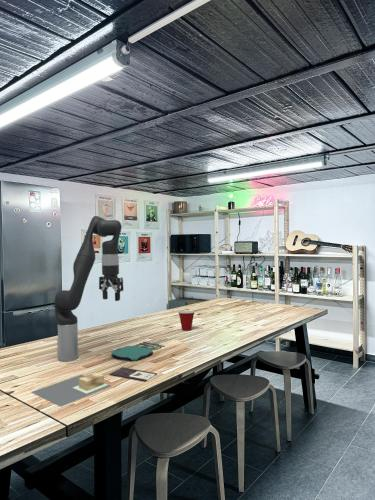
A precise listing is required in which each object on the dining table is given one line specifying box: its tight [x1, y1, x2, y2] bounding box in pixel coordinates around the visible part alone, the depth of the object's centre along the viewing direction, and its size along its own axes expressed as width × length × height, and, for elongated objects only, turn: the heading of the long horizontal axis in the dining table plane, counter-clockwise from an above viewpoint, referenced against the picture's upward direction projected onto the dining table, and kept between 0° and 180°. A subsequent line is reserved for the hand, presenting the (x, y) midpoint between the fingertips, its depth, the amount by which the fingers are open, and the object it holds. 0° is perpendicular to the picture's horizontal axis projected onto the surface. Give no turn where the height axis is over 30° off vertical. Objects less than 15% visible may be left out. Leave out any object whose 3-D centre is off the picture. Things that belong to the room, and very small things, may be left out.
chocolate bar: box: [109, 367, 158, 383], centre depth 152 cm, size 9×1×18 cm
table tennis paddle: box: [110, 341, 166, 362], centre depth 184 cm, size 20×30×2 cm, turn 149°
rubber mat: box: [30, 374, 112, 408], centre depth 137 cm, size 20×22×1 cm
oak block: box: [79, 372, 105, 391], centre depth 139 cm, size 8×5×4 cm, turn 142°
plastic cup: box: [177, 310, 196, 332], centre depth 229 cm, size 11×11×12 cm
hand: (111, 300), depth 163 cm, fingers open, 8 cm apart
